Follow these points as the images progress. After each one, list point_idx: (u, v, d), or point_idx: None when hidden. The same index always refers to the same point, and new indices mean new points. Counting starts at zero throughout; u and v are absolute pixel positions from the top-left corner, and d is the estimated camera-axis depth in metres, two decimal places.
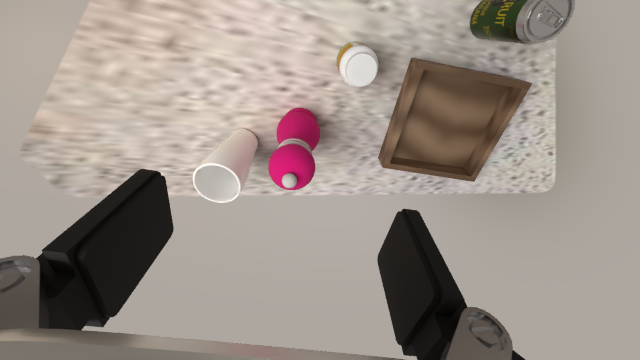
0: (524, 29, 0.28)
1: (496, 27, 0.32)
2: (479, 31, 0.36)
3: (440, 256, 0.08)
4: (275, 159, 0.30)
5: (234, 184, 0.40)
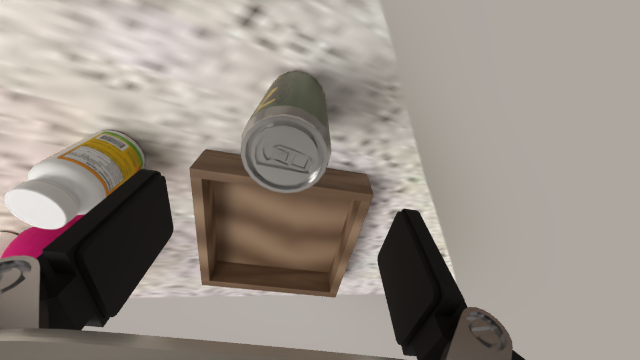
0: (250, 175, 0.15)
1: None
2: None
3: (440, 256, 0.08)
4: None
5: None
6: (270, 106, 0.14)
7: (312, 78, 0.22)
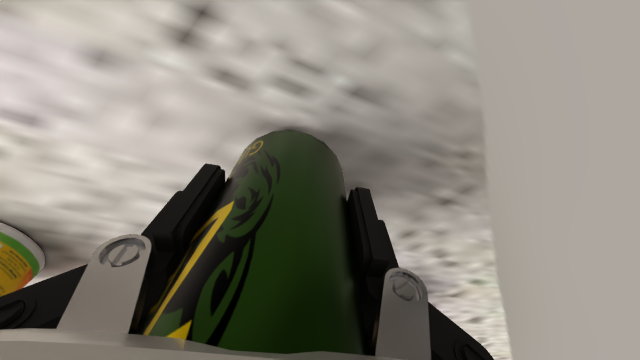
0: None
1: None
2: None
3: (378, 226, 0.09)
4: None
5: None
6: None
7: (319, 146, 0.11)
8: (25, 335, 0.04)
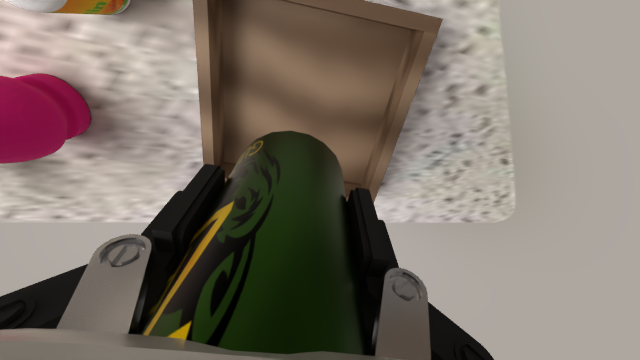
0: None
1: None
2: None
3: (378, 226, 0.09)
4: None
5: None
6: None
7: (319, 146, 0.11)
8: (25, 335, 0.04)
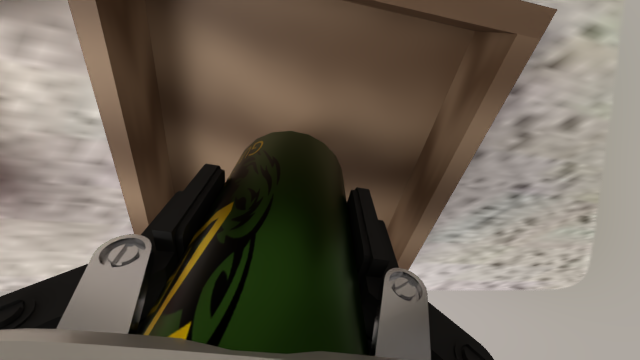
0: None
1: None
2: None
3: (378, 226, 0.09)
4: None
5: None
6: None
7: (319, 146, 0.11)
8: (25, 335, 0.04)
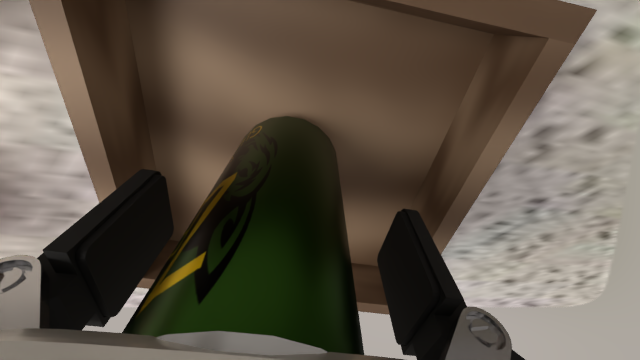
0: None
1: None
2: None
3: (439, 256, 0.08)
4: None
5: None
6: (164, 334, 0.04)
7: (314, 129, 0.12)
8: (25, 335, 0.04)
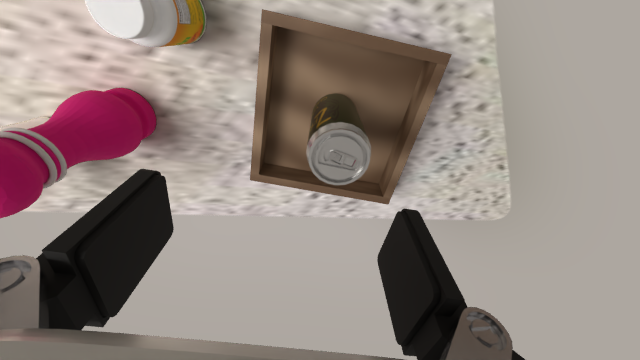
0: (313, 172, 0.21)
1: None
2: None
3: (440, 256, 0.08)
4: None
5: None
6: (330, 123, 0.20)
7: (348, 99, 0.28)
8: (25, 335, 0.04)
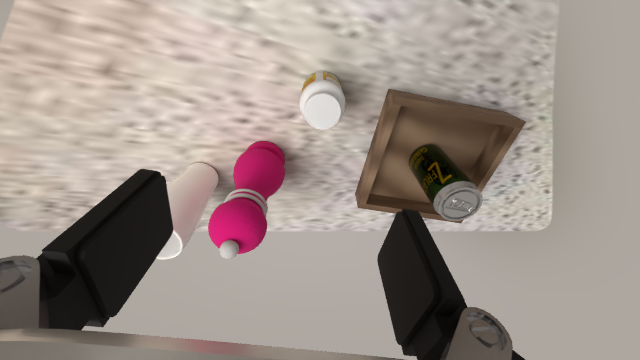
0: (440, 213, 0.30)
1: (423, 190, 0.34)
2: (415, 176, 0.38)
3: (440, 256, 0.08)
4: (213, 222, 0.25)
5: None
6: (456, 181, 0.29)
7: None
8: (25, 335, 0.04)
